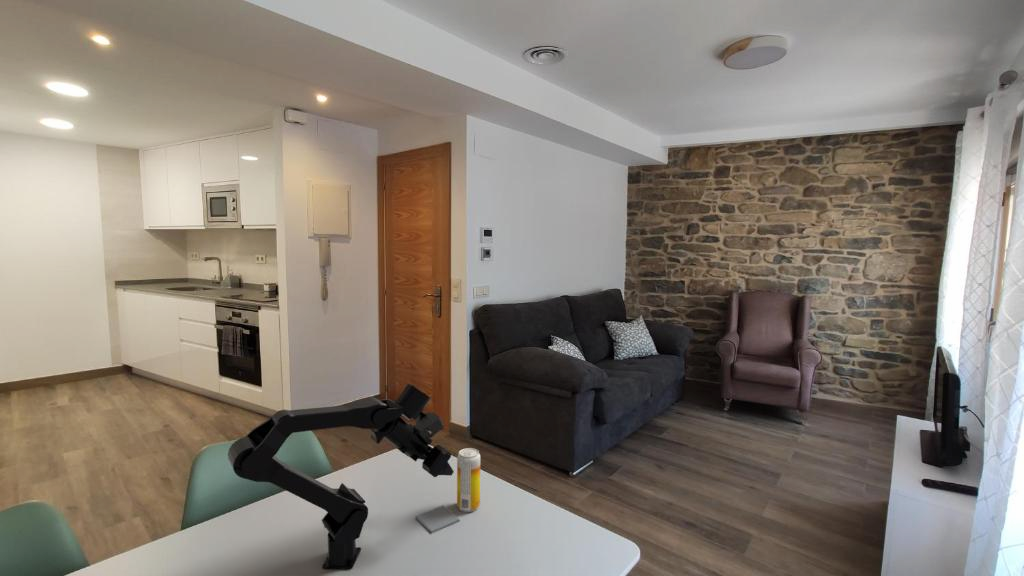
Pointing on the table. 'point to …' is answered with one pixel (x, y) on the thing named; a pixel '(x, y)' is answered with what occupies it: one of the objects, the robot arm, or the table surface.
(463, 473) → the beer can
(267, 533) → the table surface
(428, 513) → the slate mat
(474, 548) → the table surface
